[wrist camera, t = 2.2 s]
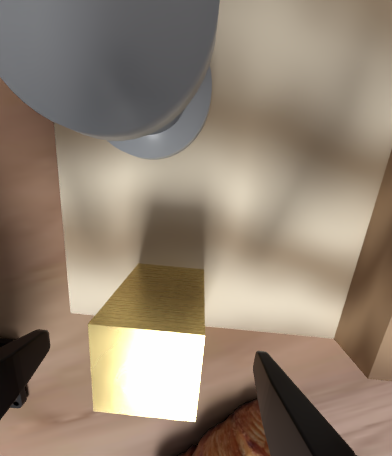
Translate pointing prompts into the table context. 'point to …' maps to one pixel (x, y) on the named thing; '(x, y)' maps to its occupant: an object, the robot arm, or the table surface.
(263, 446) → the pastry
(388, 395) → the table surface
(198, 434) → the table surface
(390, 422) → the table surface
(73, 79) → the grey rounded knob
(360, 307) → the board
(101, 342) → the tab
